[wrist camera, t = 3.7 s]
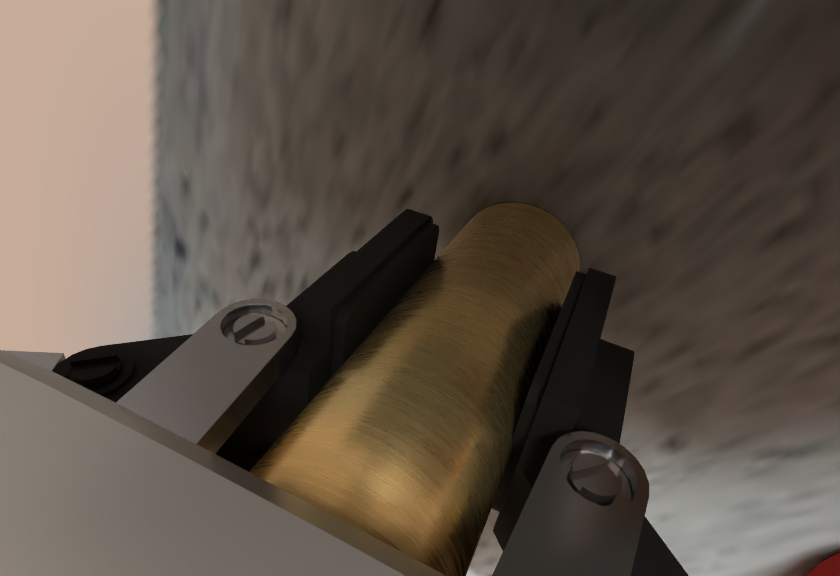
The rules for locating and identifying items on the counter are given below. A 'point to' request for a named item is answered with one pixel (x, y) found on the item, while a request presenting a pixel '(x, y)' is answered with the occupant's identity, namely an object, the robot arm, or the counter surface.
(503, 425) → the hinge pin
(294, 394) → the robot arm
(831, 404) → the counter surface
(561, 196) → the counter surface
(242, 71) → the counter surface
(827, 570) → the canned food
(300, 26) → the counter surface
